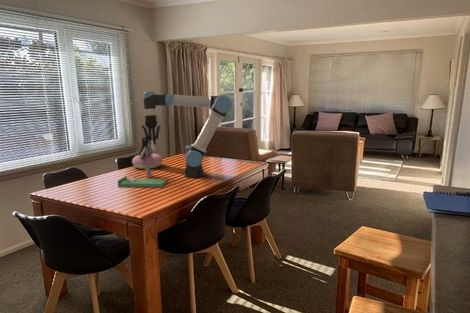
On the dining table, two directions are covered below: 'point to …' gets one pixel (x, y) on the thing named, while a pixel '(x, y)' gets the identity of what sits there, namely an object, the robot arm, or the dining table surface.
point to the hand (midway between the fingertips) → (153, 149)
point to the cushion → (138, 161)
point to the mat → (141, 182)
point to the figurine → (146, 156)
